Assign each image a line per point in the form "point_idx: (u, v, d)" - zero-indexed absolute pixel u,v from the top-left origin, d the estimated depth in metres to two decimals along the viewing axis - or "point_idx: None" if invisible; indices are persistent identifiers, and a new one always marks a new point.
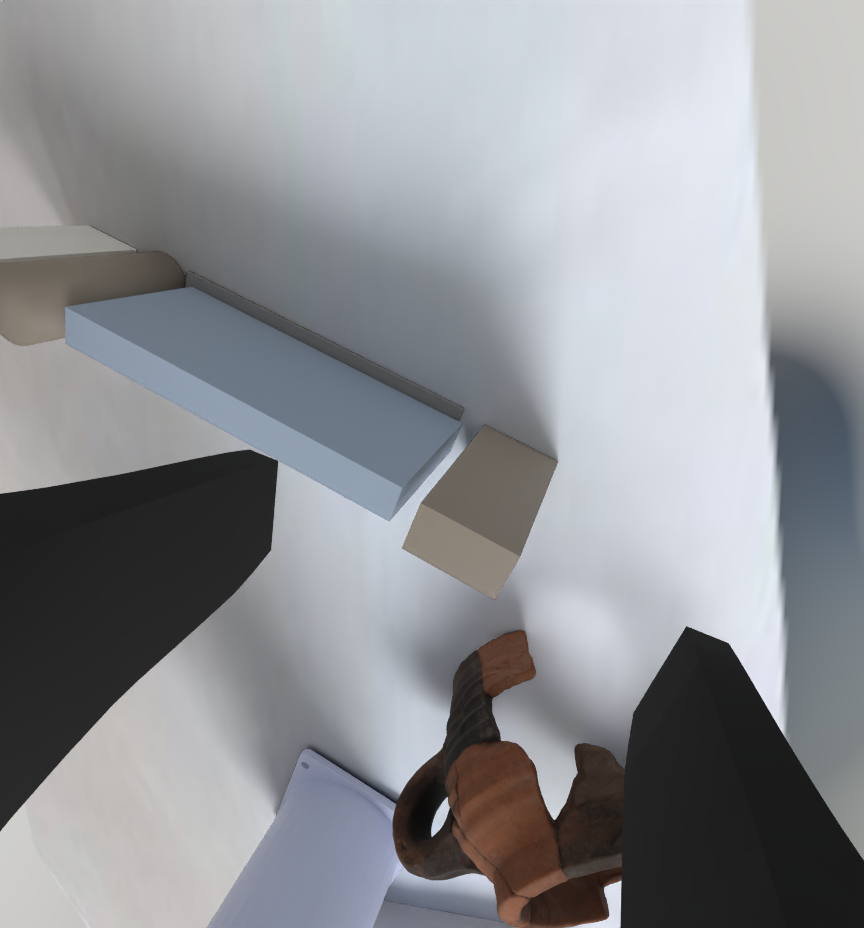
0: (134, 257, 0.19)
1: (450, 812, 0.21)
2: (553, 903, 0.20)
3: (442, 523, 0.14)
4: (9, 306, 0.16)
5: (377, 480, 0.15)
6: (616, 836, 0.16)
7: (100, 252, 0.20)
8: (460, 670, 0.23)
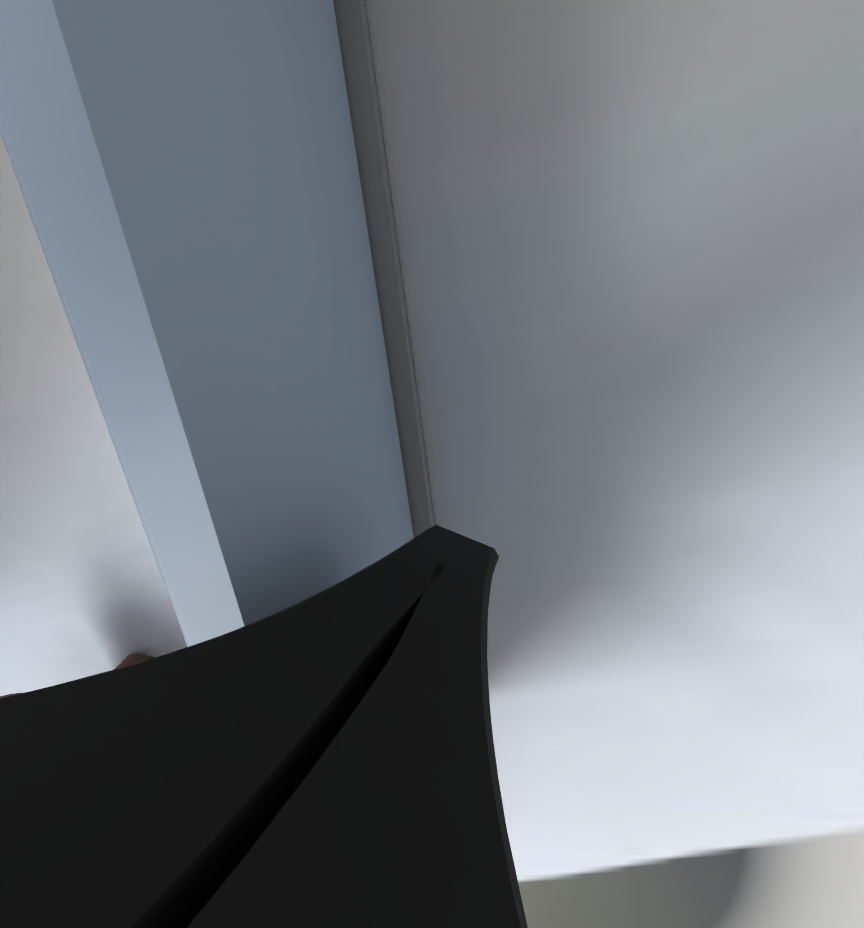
0: None
1: None
2: None
3: None
4: None
5: None
6: None
7: None
8: None
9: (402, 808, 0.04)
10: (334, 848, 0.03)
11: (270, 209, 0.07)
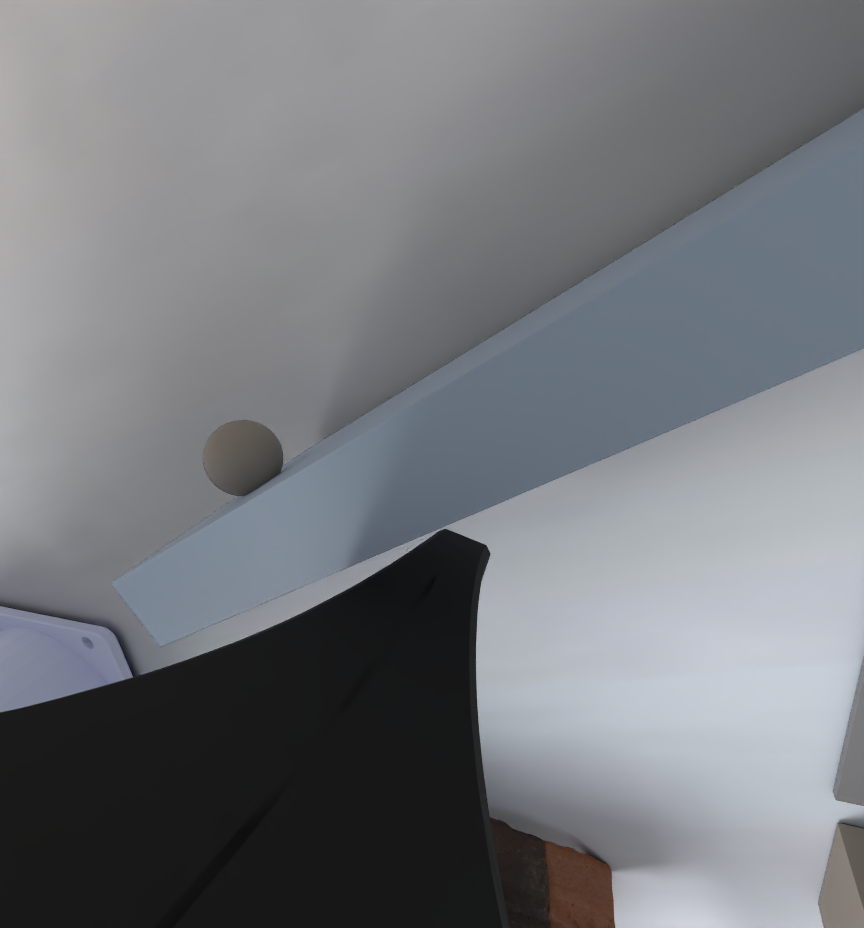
0: None
1: None
2: None
3: None
4: None
5: (179, 624, 0.08)
6: None
7: None
8: (496, 835, 0.15)
9: (385, 799, 0.04)
10: (315, 838, 0.03)
11: None
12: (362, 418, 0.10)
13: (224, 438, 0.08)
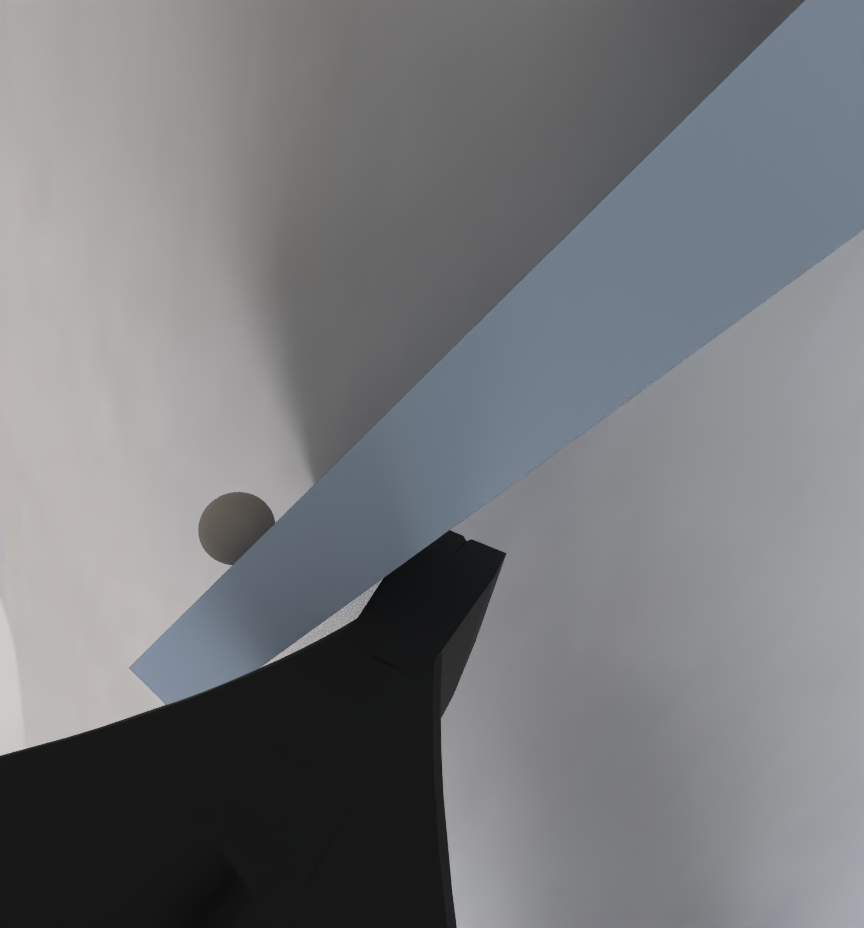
0: None
1: None
2: None
3: None
4: None
5: None
6: None
7: None
8: None
9: (338, 774, 0.04)
10: (264, 808, 0.04)
11: None
12: None
13: (213, 513, 0.09)
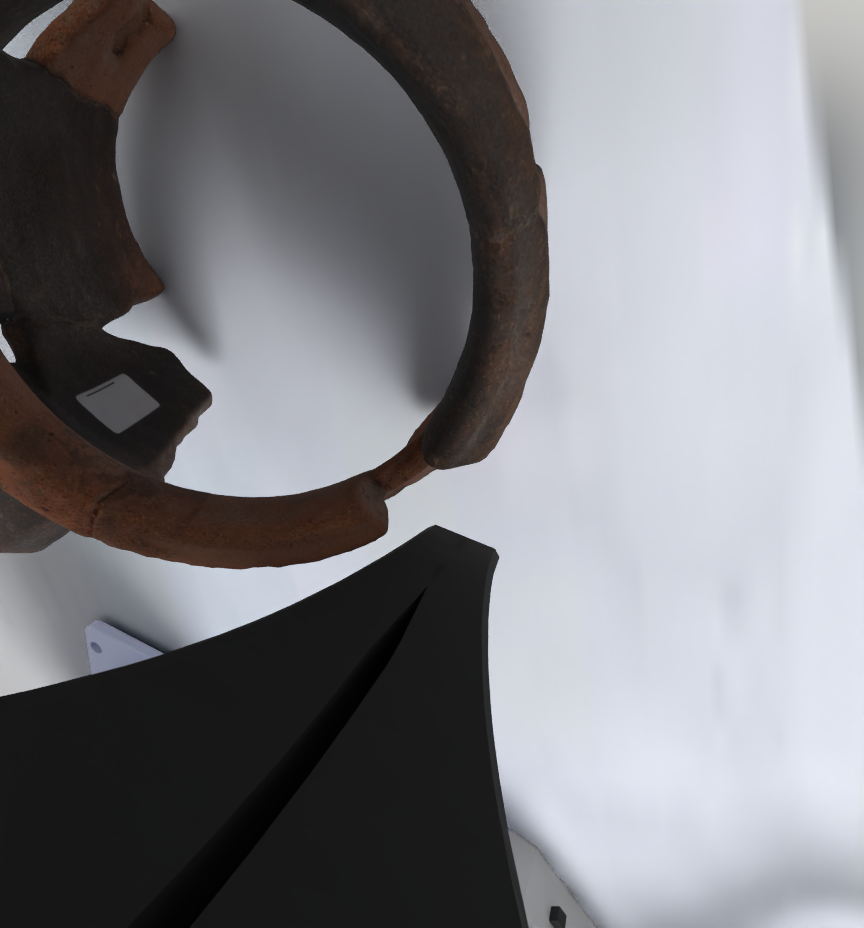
0: None
1: None
2: (224, 503, 0.08)
3: None
4: None
5: None
6: None
7: None
8: None
9: (403, 809, 0.04)
10: (335, 849, 0.03)
11: None
12: None
13: None
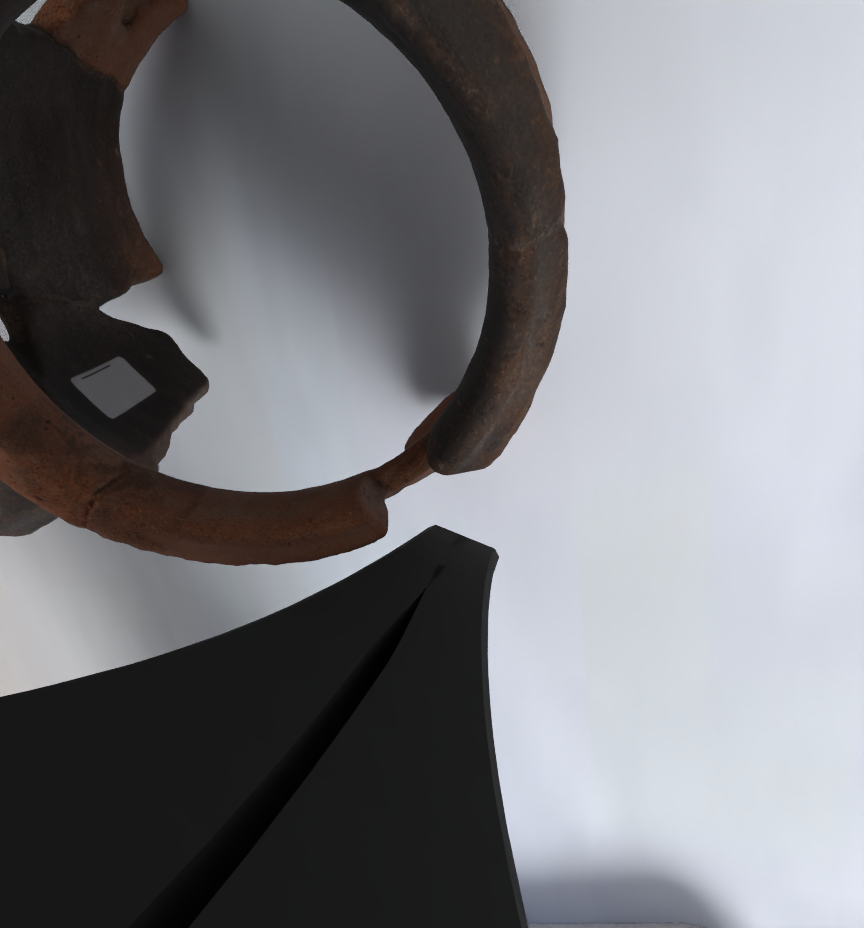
0: None
1: None
2: (222, 498, 0.08)
3: None
4: None
5: None
6: None
7: None
8: None
9: (403, 809, 0.04)
10: (335, 849, 0.03)
11: None
12: None
13: None
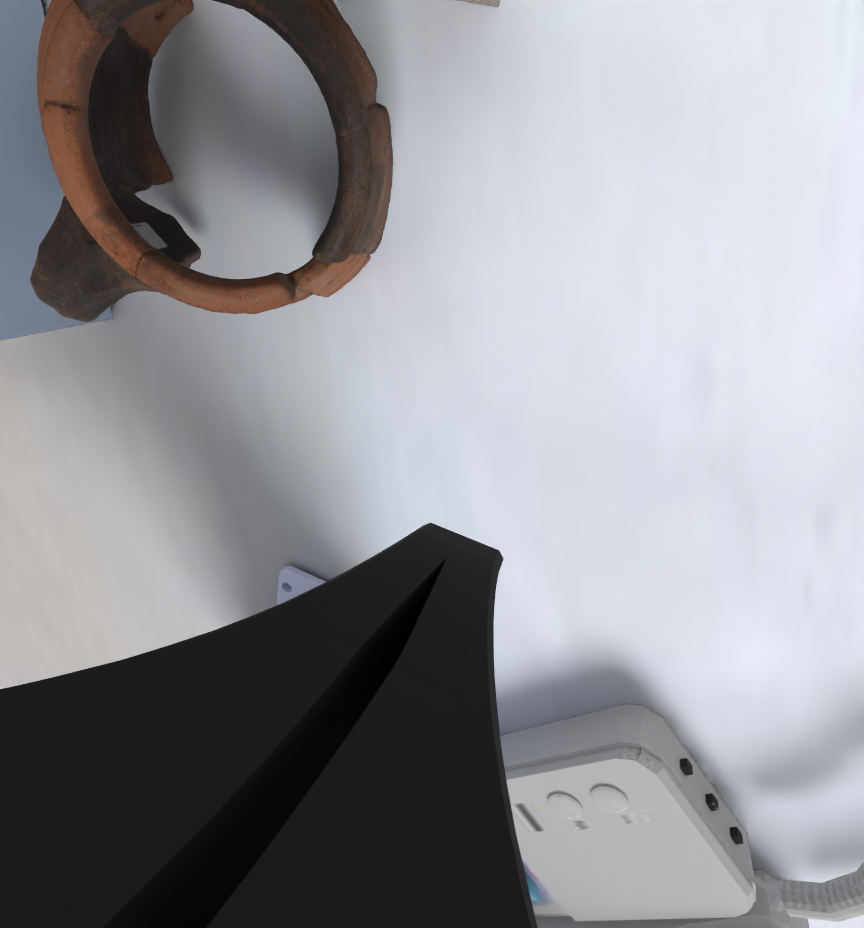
0: None
1: None
2: None
3: None
4: None
5: None
6: None
7: None
8: None
9: (412, 813, 0.04)
10: (345, 854, 0.03)
11: None
12: None
13: None
